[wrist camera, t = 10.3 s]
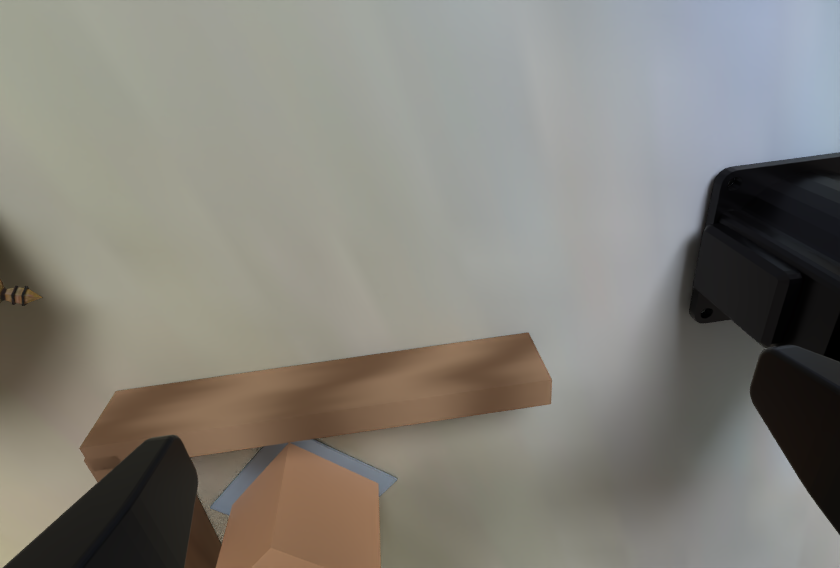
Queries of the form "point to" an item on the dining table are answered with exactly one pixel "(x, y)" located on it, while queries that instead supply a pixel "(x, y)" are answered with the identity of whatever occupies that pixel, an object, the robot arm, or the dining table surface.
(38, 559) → the robot arm
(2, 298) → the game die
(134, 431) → the arena
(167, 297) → the dining table surface
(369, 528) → the cube
